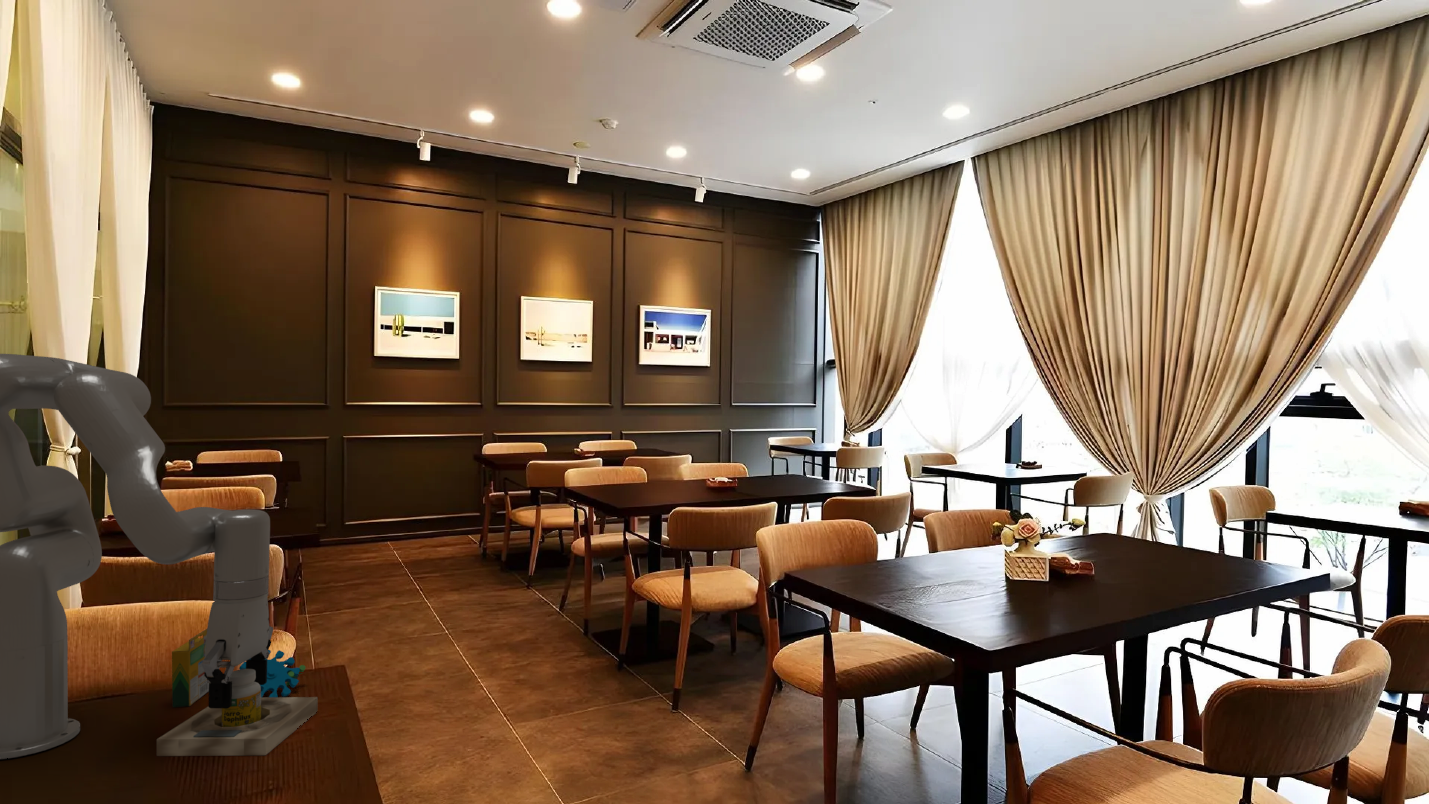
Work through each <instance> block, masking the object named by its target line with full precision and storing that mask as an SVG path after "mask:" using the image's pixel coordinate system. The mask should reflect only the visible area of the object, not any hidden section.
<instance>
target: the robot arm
mask: <svg viewBox="0 0 1429 804" xmlns="http://www.w3.org/2000/svg"><path fill="white" fill-rule="evenodd" d="M151 405H152V396H151V392H150V390H149V388H148V387H147V385H146V384H145V382H143V380H141V378H138V376H136V375H133V374H131V373H127V372H124V371H121V370H114V369H109V368H105V367H100V366H95V365H91V364H87V363H83V362H77V361H73V360H68V359H64V358H58V357H53V356H51V357H50V356H42V355H41V356H40V355H28V354H26V355H25V354H17V353H15V354H13V353H0V533H6V532H13V531H19V530H24V529H28V531H29V535H30V536H25V537H21V538H17V539H13V540H10V541H7V542H4V543H3V544H0V760H7V758H8V759H13V758H20V757H23V756H24V757H25V756H29V755H33V754H37V753H40V752H43V751H44V752H45V751H47V750H50V749H53V748H55V747H57V746H60V745H63V744H65V743H67V742H69V741H71V740H72V739H74V738H75V737H77V736H78V734H79V733H80V731H81V723H80V721H78V719H77V720H76V719H74V718H71V717H68V716H69V715H68V713H69V712H68V709H69V707H68V705H69V704H68V703H69V702H68V697H69V696H68V691H69V689H68V685H69V684H68V682H69V681H68V678H69V677H68V676H69V675H68V670H69V669H68V667H69V666H68V665H69V664H68V660H69V659H68V650H69V649H68V647H69V646H68V645H69V644H68V642H69V640H68V639H69V638H68V637H69V636H68V618H67V615H66V614H67V613H66V611H65V608H64V607H63V604H62V602H61V600H60V598H59V595H58V592H59V591H60V590H63V589H66V588H70V587H72V586H75V585H78V584H80V583H82V582H84V581H86V580H88V579H89V578H91V577H92V576H93V575H94V574H95V573H96V572H97V570H98V569H99V567H100V565H101V563H102V558H103V554H102V553H103V550H102V544H101V539H100V537H99V536H100V535H99V532H98V529H97V525H96V522H95V519H94V515H93V511H92V508H91V506H90V500H89V498H88V495H87V491H86V489H85V487H84V486H83V484H82V482H81V481H80V480H79V478H78V477H76V475H75V474H73V472H71V471H70V470H67V469H65V468H63V467H59V466H56V465H39V466H38V465H36V464H35V462H34V458H33V456H32V453H31V450H30V449H31V448H30V445H29V442H28V439H27V437H26V435H25V434H24V431H22V429H21V428H20V426H19V425H18V424H17V423H16V422H15V421H14V419H12V417H11V416H10V415H9V414H10V411H11V410H12V411H13V410H20V409H21V410H28V409H29V410H31V409H34V410H37V409H38V410H39V409H43V410H44V409H45V410H46V409H47V410H48V409H49V410H55V411H58V412H59V413H60V414H61V416H62V417H63V419H64V420H65V422H66V423H67V425H68V426H70V428H71V429H72V431H73V432H74V433H75V435H76V436H77V438H79V440H80V441H81V443H82V444H83V445H84V447H85V448H86V449H87V450H88V452H89V453H90V455H92V457H93V458H94V460H95V461H96V462H97V464H98V465H99V467H101V469H102V470H103V471H104V473H105V475H106V480H107V481H106V487H107V488H106V489H107V495H108V500H109V505H110V506H109V507H110V508H111V513H112V515H113V517H114V519H115V522H117V524H118V526H119V527H120V529H121V530H122V531H123V533H124V535H126V536H127V538H128V539H129V541H130V542H131V543H132V545H134V547H135V548H136V549H137V550H138V551H139V552H140V553H141V554H142V555H143V556H144V557H146V558H147V559H148V560H150V561H152V562H154V563H156V564H160V565H177V564H179V563H182V562H185V561H187V560H190V559H193V558H195V557H199V556H203V555H206V554H208V553H211V552H214V553H213V554H214V557H213V558H214V560H213V563H214V564H213V597H212V600H213V602H212V604H211V606H210V611H209V614H208V615H209V616H208V622H207V628H206V629H207V636H206V648H205V658H204V660H203V661H202V667H203V669H204V672H205V673H204V676H205V677H206V678H207V683H209V692H208V702H207V703H208V706H209V708H224V709H227V708H229V707H231V706H232V681H229V679H230V677H231V675H232V672H233V671H235V667H238V666H240V665H242V663H244V662H246V669H254V670H255V671H256V678H255V681H254V682H257V683H259V685H264V684H265V683H266V682H267V660H265V659H268V660H269V657H270V655H269V652H268V650H270V647H271V645H272V641H271V640H272V635H273V632H274V627H273V626H271V625H270V613H269V602H268V601H269V600H268V596H269V584H270V583H269V582H270V581H269V580H270V576H269V575H270V545H271V544H270V543H271V540H270V539H271V517H270V516H269V514H268V513H267V512H266V511H264V510H260V509H236V510H235V509H233V510H230V509H222V508H218V507H217V508H215V507H208V506H198V507H193V508H188V509H184V510H180V511H176V510H175V508H174V507H173V506H172V504H171V503H170V502H169V501H168V499H167V497H166V496H165V495H164V494H163V493H164V492H163V491H162V489H161V488H160V485H159V483H158V480H157V479H158V478H157V467H158V464H159V462H160V460H161V458H162V457H163V455H164V454H165V451H166V447H165V443H164V442H163V440H162V439H161V438H160V436H159V435H158V434H157V432H156V431H155V430H154V428H152V426H151V424H150V423H149V422H148V421H147V419H146V418H145V417H144V416H145V415H146V414H147V412H149V409H150V407H151ZM223 668H224V669H225V670H224V672H223V671H222V670H221V669H223ZM208 706H207V707H208Z"/></svg>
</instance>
